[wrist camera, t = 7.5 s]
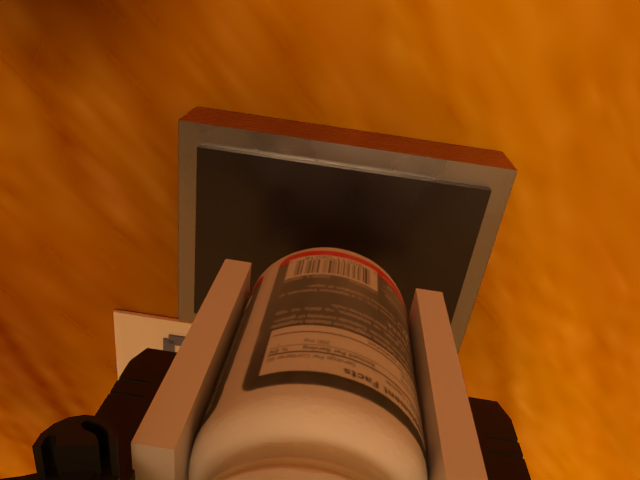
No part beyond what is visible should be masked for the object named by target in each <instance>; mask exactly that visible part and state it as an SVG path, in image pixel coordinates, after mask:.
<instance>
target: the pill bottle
mask: <svg viewBox="0 0 640 480" xmlns="http://www.w3.org/2000/svg"><path fill="white" fill-rule="evenodd" d="M188 475H189V480H428V476H427V465H426V447H425V441H424V437H423V427H422V421H421V413H420V408H419V402H418V396H417V389H416V382H415V374H414V366H413V359H412V349H411V341H410V333H409V324H408V316H407V312H406V308H405V304H404V301H403V298H402V295H401V293H400V291H399V289H398V287H397V286H396V284H395V283H394V281H393V280H392V279H391V277H390V276H389V275H388V274H387V273H386V272H385V271H384V270H383V269H382V268H381V267H380V266H379V265H377V264H376V263H375V262H373V261H371V260H370V259H368V258H366V257H364V256H362V255H360V254H357V253H354V252H351V251H348V250H344V249H339V248H329V247H319V248H310V249H305V250H301V251H297V252H294V253H292V254H289V255H287V256H285V257H283V258H281V259H279V260H278V261H276V262H275V263H273V264H272V265H271V266H270V267H268V268H267V269H266V270H265V271H264V272H263V274H262V275H261V276H260V277H259V278H258V280H257V282H256V283H255V285H254V287H253V289H252V291H251V293H250V296H249V298H248V301H247V304H246V307H245V309H244V312H243V314H242V317H241V320H240V322H239V325H238V328H237V330H236V333H235V335H234V338H233V341H232V344H231V346H230V349H229V351H228V354H227V356H226V359H225V362H224V364H223V367H222V370H221V372H220V375H219V377H218V380H217V383H216V385H215V388H214V391H213V393H212V396H211V398H210V401H209V404H208V406H207V409H206V412H205V414H204V417H203V419H202V422H201V425H200V427H199V429H198V432H197V435H196V438H195V441H194V445H193V448H192V452H191V457H190V461H189V473H188Z"/></svg>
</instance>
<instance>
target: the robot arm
mask: <svg viewBox="0 0 640 480" xmlns="http://www.w3.org/2000/svg"><path fill="white" fill-rule="evenodd" d="M251 266H252V263H250V262H243V261H237V260H230V259H225V261H224V263H223V265H222V267H221V269H220V271H219V273H218V274H217V276H216V278H215V280H214V282H213V284H212V286H211V288H210V290H209V292H208V294H207V296H206V298H205V300H204V302H203V304H202V306H201V307H200V309H199V311H198V313H197V315H196V317H195V319H194V321H193V323H192V325H191V327H190V329H189V331H188V333H187V335H186V337H185V339H184V340H183V342H182V344H181V346H180V348H179V350H178V352H171V351H164V350H158V349H152V348H146V349H145V350H144V351H142V352H141V353H140V354H138V355H137V356H135V357H134V358H133V359H131V360H130V361H129V363H128V364H127V366H126V367H125V369H124V371H123V372H122V374H121V375H120V377H119V380H118V381H117V382H116V383H115V385H114V386H113V388H112V390H111V393H110V394H108V396H107V398H106V399H105V401H104V402H103V404H102V405H101V407H100V409H99V410H98V412H97V413H96V415H95V416H90V415H81V416H74V417H69V418H66V419H64V420H62V421H59V422H57V423H55V424H53V425H52V426H50V427H49V428H48V429H46V430H45V431H44V432H43V433H41V434H40V436H39V437H38V439H37V440H36V442H35V443H34V445H33V446H32V448H33V453H34V459H35V464H36V470H37V473H35V474H30V475H26V476H20V477H12V478H4V479H0V480H189V475H188V473H189V461H190V457H191V452H192V448H193V445H194V441H195V438H196V435H197V432H198V429H199V427H200V425H201V422H202V419H203V417H204V414H205V412H206V409H207V406H208V404H209V401H210V398H211V396H212V393H213V391H214V388H215V385H216V383H217V380H218V377H219V375H220V372H221V370H222V367H223V364H224V362H225V359H226V356H227V354H228V351H229V349H230V346H231V344H232V341H233V338H234V335H235V333H236V330H237V328H238V325H239V322H240V320H241V317H242V314H243V312H244V309H245V307H246V304H247V301H248V298H249V291H250V278H251ZM408 324H409V333H410V341H411V349H412V359H413V366H414V374H415V382H416V389H417V396H418V402H419V408H420V413H421V421H422V427H423V437H424V441H425V447H426V465H427V476H428V480H531V478H530V475H529V472H528V469H527V466H526V463H525V460H524V459H523V454H522V451H521V448H520V445H519V443H517V436H516V433H515V430H514V427H513V424H512V421H511V419H510V418H509V416H508V415H507V414H506V412H505V411H504V410H503V409H502V407H501V406H500V405H499V404H498V402H496V401H490V400H484V399H477V398H471V397H468V395H467V391H466V387H465V383H464V379H463V375H462V371H461V367H460V362H459V358H458V354H457V350H456V346H455V342H454V338H453V334H452V330H451V325H450V321H449V317H448V313H447V309H446V305H445V301H444V297H443V293H442V292H437V291H431V290H425V289H418V288H416V290H415V294H414V298H413V302H412V306H411V310H410V314H409V318H408Z"/></svg>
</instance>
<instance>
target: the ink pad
mask: <svg viewBox="0 0 640 480" xmlns="http://www.w3.org/2000/svg"><path fill="white" fill-rule="evenodd" d="M516 173H517V169H516V168H515V167H514V166H513V164H512V163H511V162H510V161H509V160H508V158H507V157H506V156H505V155H504V153H503V152H499V151H493V150H486V149H479V148H472V147H466V146H459V145H452V144H446V143H439V142H432V141H425V140H419V139H412V138H405V137H398V136H392V135H385V134H378V133H371V132H365V131H358V130H351V129H345V128H338V127H331V126H324V125H318V124H311V123H304V122H297V121H291V120H284V119H277V118H271V117H264V116H257V115H250V114H244V113H237V112H230V111H223V110H217V109H210V108H203V107H195V108H194V109H193V110H191V111H190V112H189V113H187V114H186V115H185V116H183V117H182V118H181V119H179V197H178V321H184V322H191V323H193V321H194V319H195V317H196V315H197V313H198V311H199V309H200V307H201V306H202V304H203V302H204V300H205V298H206V296H207V294H208V292H209V290H210V288H211V286H212V284H213V282H214V280H215V278H216V276H217V274H218V273H219V271H220V269H221V267H222V265H223V263H224V261H225V259H230V260H237V261H243V262H250V263H252V266H251V278H250V291H249V296H250V293H251V291H252V289H253V287H254V285H255V283H256V282H257V280H258V278H259V277H260V276H261V275H262V274H263V272H264V271H265V270H266V269H267V268H268V267H270V266H271V265H272V264H273V263H275V262H276V261H278V260H279V259H281V258H283V257H285V256H287V255H289V254H292V253H294V252H297V251H301V250H305V249H310V248H319V247H329V248H339V249H344V250H348V251H351V252H354V253H357V254H360V255H362V256H364V257H366V258H368V259H370V260H371V261H373V262H375V263H376V264H377V265H379V266H380V267H381V268H382V269H383V270H384V271H385V272H386V273H387V274H388V275H389V276H390V277H391V279H392V280H393V281H394V283H395V284H396V286H397V287H398V289H399V291H400V293H401V295H402V298H403V301H404V304H405V308H406V312H407V316H408V318H409V314H410V310H411V306H412V302H413V298H414V294H415V290H416V288H418V289H425V290H431V291H437V292H442V293H443V297H444V301H445V305H446V309H447V313H448V317H449V321H450V325H451V330H452V334H453V338H454V342H455V346H456V350H457V354H458V352H459V349H460V346H461V343H462V340H463V337H464V334H465V331H466V328H467V325H468V322H469V318H470V315H471V312H472V309H473V306H474V303H475V300H476V297H477V294H478V291H479V288H480V285H481V281H482V278H483V275H484V272H485V269H486V266H487V263H488V260H489V257H490V254H491V251H492V247H493V244H494V241H495V238H496V235H497V232H498V229H499V226H500V223H501V220H502V217H503V214H504V210H505V207H506V204H507V201H508V198H509V195H510V192H511V189H512V186H513V183H514V180H515V176H516Z"/></svg>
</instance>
